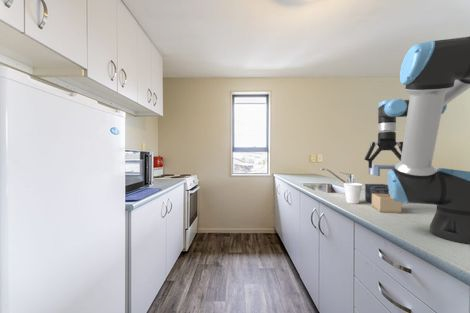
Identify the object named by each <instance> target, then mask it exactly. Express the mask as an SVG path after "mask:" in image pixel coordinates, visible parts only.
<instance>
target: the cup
mask: <svg viewBox="0 0 470 313" xmlns="http://www.w3.org/2000/svg"><path fill="white" fill-rule="evenodd" d="M342 184H343V188H344V194H345V201H346V203H347V204H351V205H357V204H359V202H360V197H361V193H362V188H363V184H362V183H359V182H344V183H342Z"/></svg>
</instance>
